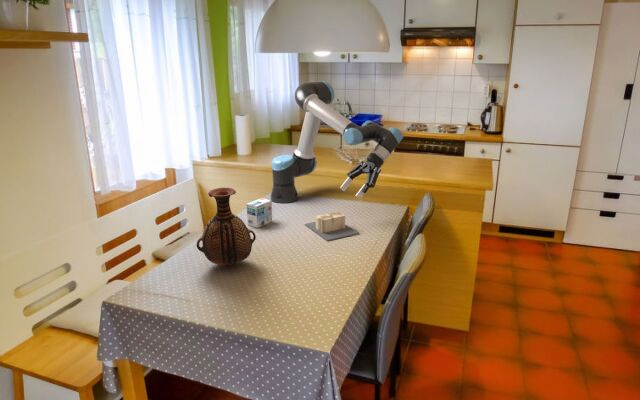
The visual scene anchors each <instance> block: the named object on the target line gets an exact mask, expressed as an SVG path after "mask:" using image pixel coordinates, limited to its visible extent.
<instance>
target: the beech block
mask: <svg viewBox="0 0 640 400" xmlns="http://www.w3.org/2000/svg"><path fill="white" fill-rule="evenodd" d="M315 222H316V229H317V230H318V231H320V232H321V233H325V232H329V231H334V230H338V229H343V228H345V225H346V215H345V214H343V213H341V212H340V211H336V212H331V213H330V212H329V213H326V214H321V215H316V216H315Z"/></svg>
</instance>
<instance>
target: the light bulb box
mask: <svg viewBox="0 0 640 400" xmlns="http://www.w3.org/2000/svg"><path fill="white" fill-rule="evenodd" d="M272 202H273V201H271V199H266V198H263V197H262V198H258V199H256V200H253V201H250V202H248V203H246V215H247V225H248V226H249V227H253V228H256V229H258V228H261V227H262V226H265V225H268V224H270V222H271V223H273V207H272V206H273V205H272Z"/></svg>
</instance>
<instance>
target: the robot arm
mask: <svg viewBox="0 0 640 400" xmlns="http://www.w3.org/2000/svg"><path fill="white" fill-rule="evenodd" d="M334 99H335V90H334V88H333V86H332V84H330V82H328V81H323V80H322V81H321V80H319V81H311V82H303V83H301V84H299V85H298V86H297V88H295V92H294V100H295V102H296V104H297V106H298V107H300V109H302V110H303V111H304V112H305V115H304V118H303V123H302V128H301V132H300V135H299V140H298V145H297V148H295V149H294V150H293V154H292V155H291V154H283V155H279V156H275V157H274V158H273V159H272V161H271V163H272V164H271V171H272V172H271V173H272V189H271V192H270V200H271V201H272V202H274V203H276V204H277V203H278V204H288V203H293V202H297V201H298V200H299V193H298V190H297V187H296V184H295V178H299V177H303V176H307V175H310V174H312V173H314V171H315V170H316V168H317V164H318V163H317V162H318V161H317V158H316V155H315V152H314V148H315V143H316V140H317V136H318V134H319V133H318V132H319V129H320V126H321V121H322V122H323V123H325V124H327V126H329V127H331V128H332V129H333V130H334V131H335V132H337V133H339V134H340V135H341V136H342V137H343V140H344V142H345V143H346V144H347V145H349V146H356V145H359V144H363V143H368V142H371V141H373V142H375V143H377V144H376V146H375V147H374V148H373V150H372V151H371V152H370V153H369V155H368V156H367V157H366V162H364V161H363V160H361V161H360V162H359V163H358V164H357V165H356V166H354V167H353V168H352V169H350V171H348V172H347V173H346V175H347V177H346V179H345V180H344V182H343V183H341V184H342V185H340V187H339V188H340V189H341V190H342V192H346V190H347V189H348V187H349V186H350V185H351V184H352V183H353V181H354V179H356V178H357V177H359V176H361V175H365V174H366V182H364V184H363V185H362V186H361V187H360V189H359V190H358V192H356V194H355V197H356V198H357V199H358V200H360V199H362V197H363V196H364V195H365V194H366V193H367V192H368V191H369V189H370V188H372V189H373V188H375V186H376V183H377V181H378V178H379V175H380V173H381V172H382V169H381V167H382V166H383V165H384V163H385V162H386V160H387V159H388V158H389V157H390V156H391V154H392V153H393V151H395V149H396V148H397V147H398V145H400V142H401V141H402V140H403V139H404V134H403V132H402V131H401V130H400V129H399V128H397V127H395V126H391V127H389V129H387V128H386V127H383V126H382V125H380V124H378V123H377V122H375V121H372V120H366V121H365V122H363V123H362V125H361V126H359V125H357V124H356V123H354V122H353V121H351V120H350V119H349V118H347V117H346V116H344V115H343V114H341V113H340V112H338V111H337V110H336V109H334V107H333V108H332V107H331V106H330V105H331V104H332V103H333V101H334Z"/></svg>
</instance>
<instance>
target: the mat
mask: <svg viewBox="0 0 640 400" xmlns="http://www.w3.org/2000/svg"><path fill="white" fill-rule="evenodd" d="M304 226H305V227H306V228H308V229H309V230H310V231H312V232H314V233H315V234H316V235H318V236H319V237H320V238H322V239H324V241H326V242H331V241H335V240H338V239H343V238H348V237H352V236H356V235H360V232H359V231H358V230H357V231H356V229H354V228H352V227H351V226H349V225H346V224H345V228H343V229H338V230H334V231H329V232H325V233H321V232H320V231H318V230H317V229H316V221H312V222H306V223H304Z"/></svg>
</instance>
